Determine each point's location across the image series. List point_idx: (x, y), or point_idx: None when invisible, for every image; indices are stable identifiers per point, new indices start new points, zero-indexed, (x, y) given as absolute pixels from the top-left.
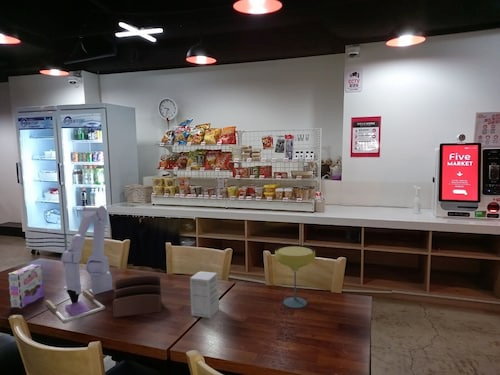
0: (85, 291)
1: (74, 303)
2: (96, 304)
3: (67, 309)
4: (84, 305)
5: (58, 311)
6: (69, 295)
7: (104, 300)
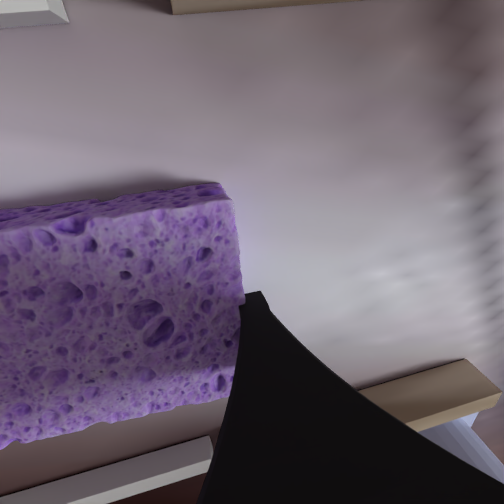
0: (448, 412)
1: (220, 329)
2: (130, 459)
3: (78, 214)
4: (62, 427)
5: (20, 11)
6: (316, 431)
7: (190, 487)
